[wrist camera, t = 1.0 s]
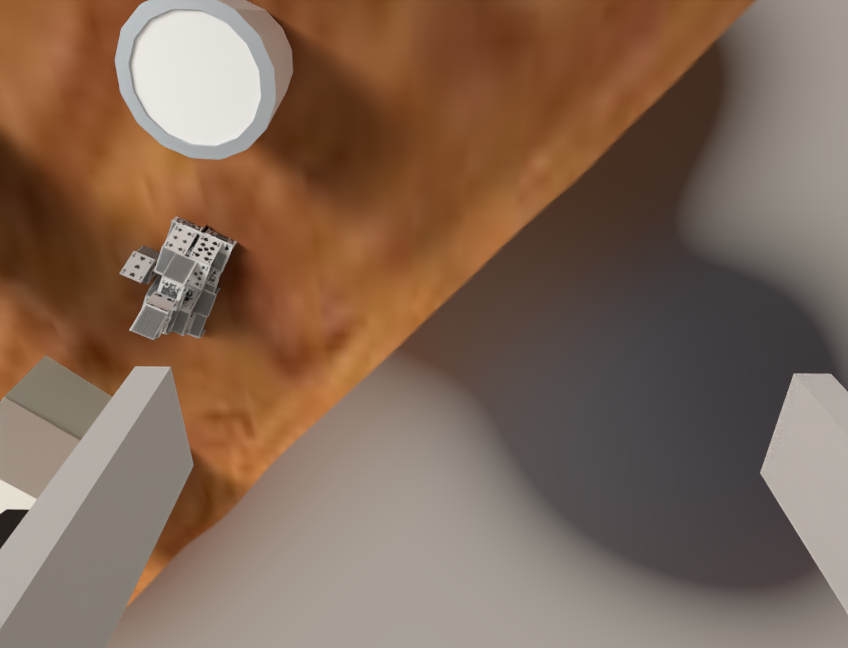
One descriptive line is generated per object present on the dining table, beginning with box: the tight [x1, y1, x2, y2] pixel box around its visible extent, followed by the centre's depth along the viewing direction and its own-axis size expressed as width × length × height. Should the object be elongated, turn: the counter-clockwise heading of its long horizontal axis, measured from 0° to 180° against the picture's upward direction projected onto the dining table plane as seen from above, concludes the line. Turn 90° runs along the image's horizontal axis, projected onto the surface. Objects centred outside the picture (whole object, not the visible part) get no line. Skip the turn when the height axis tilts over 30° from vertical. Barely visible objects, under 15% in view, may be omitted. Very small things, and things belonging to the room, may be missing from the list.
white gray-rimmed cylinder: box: [115, 0, 293, 159], centre depth 31 cm, size 7×7×7 cm
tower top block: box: [0, 398, 80, 514], centre depth 40 cm, size 10×10×5 cm
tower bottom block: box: [1, 355, 112, 441], centre depth 45 cm, size 10×10×5 cm
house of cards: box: [119, 216, 237, 340], centre depth 36 cm, size 9×9×8 cm
